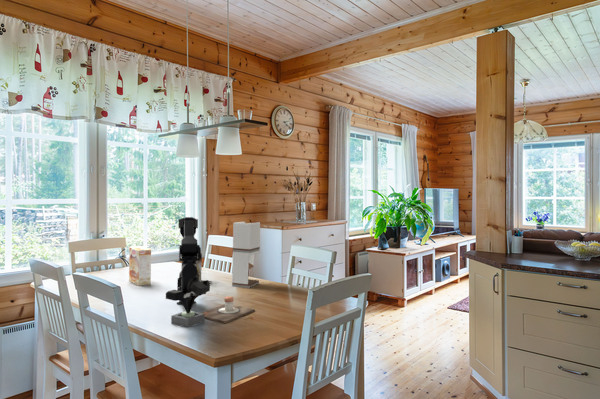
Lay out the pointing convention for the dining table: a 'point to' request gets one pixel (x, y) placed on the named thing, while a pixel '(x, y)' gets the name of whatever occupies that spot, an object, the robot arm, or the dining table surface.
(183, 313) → the button
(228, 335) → the dining table surface
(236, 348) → the dining table surface
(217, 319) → the colouring board
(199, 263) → the coffee box
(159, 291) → the dining table surface
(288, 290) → the dining table surface
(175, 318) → the button housing
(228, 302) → the mushroom
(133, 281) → the coffeecake box
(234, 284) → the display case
